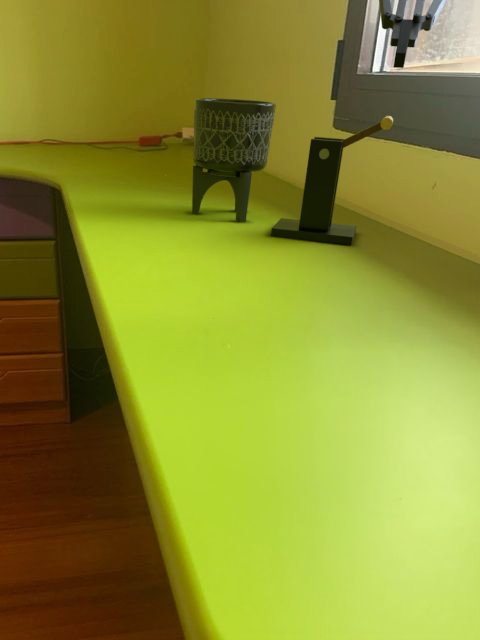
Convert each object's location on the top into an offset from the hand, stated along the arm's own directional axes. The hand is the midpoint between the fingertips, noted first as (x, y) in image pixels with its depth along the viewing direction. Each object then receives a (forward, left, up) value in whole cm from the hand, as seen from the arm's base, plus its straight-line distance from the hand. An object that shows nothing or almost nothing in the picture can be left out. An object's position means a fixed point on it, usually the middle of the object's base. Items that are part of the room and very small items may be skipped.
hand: (399, 60), depth 103 cm
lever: (+4, +12, -11) cm, 17 cm away
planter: (+24, +4, -25) cm, 35 cm away
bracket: (+8, +12, -25) cm, 28 cm away
